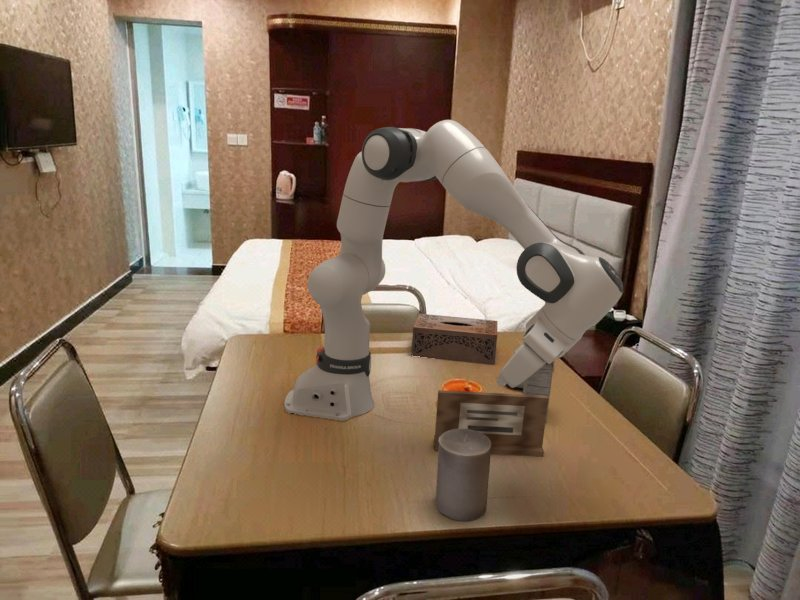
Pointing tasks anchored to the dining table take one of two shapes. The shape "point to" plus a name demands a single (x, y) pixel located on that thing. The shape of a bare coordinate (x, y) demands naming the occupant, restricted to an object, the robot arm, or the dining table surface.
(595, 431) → the dining table surface
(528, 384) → the coffee box
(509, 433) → the label placard
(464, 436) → the pillar candle
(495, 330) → the tissue box cover
